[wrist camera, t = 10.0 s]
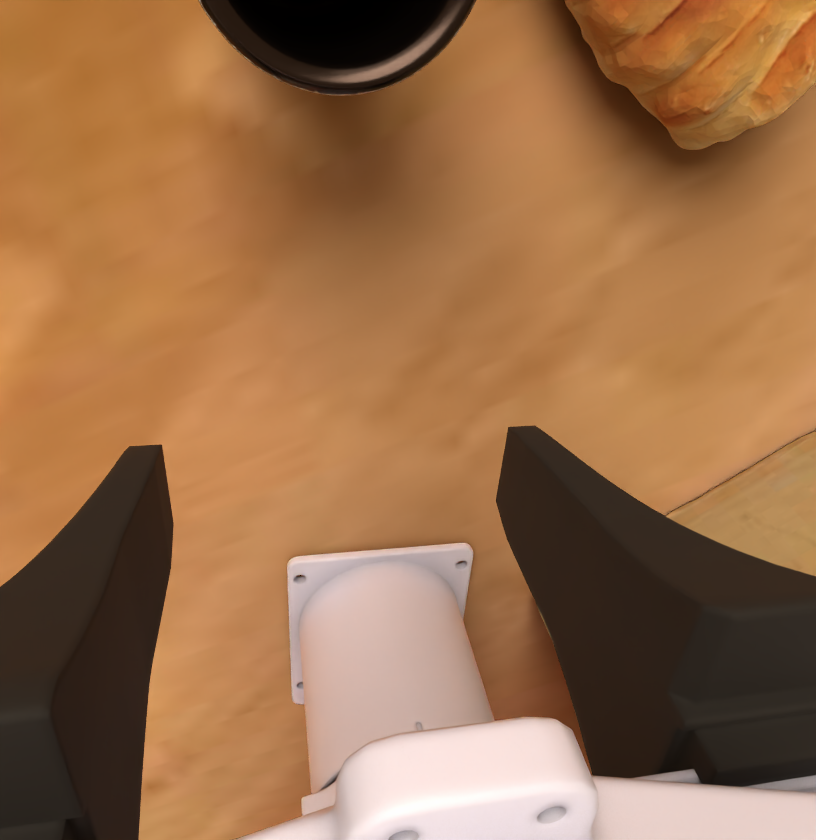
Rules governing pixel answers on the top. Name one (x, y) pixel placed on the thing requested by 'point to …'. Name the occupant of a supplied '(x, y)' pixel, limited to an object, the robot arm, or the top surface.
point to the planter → (339, 39)
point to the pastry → (705, 59)
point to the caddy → (764, 509)
